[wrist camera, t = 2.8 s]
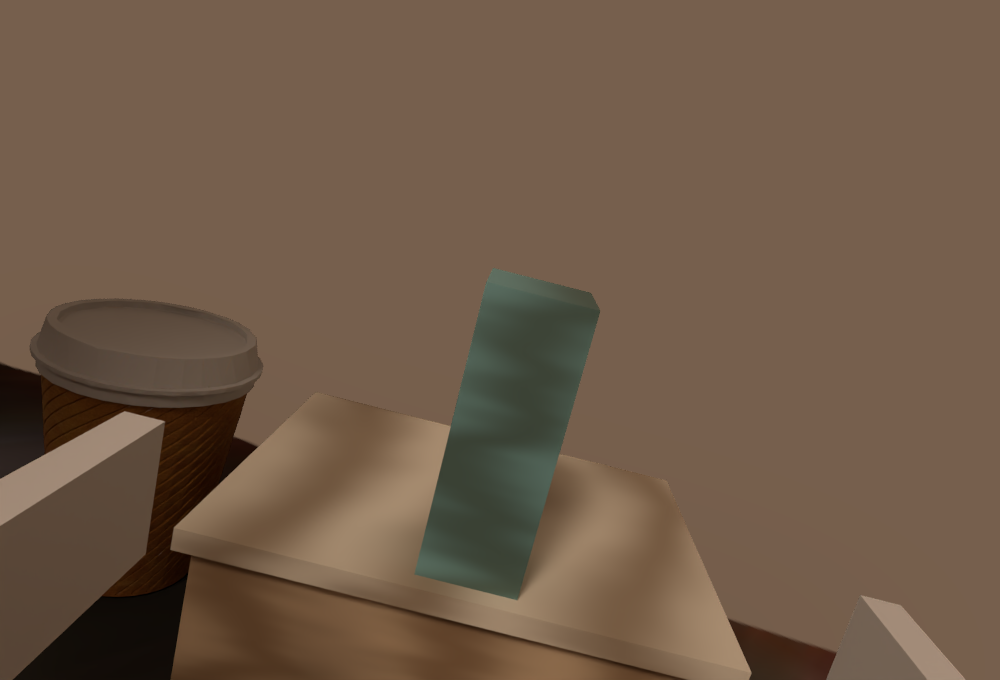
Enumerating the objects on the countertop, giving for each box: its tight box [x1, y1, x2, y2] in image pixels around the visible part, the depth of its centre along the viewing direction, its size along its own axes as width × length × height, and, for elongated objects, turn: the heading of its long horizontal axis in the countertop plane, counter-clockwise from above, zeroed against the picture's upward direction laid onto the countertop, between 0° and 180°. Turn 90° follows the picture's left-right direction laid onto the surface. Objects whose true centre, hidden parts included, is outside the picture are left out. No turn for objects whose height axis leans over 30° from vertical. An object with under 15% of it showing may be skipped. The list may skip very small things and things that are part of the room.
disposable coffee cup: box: [30, 299, 263, 597], centre depth 33 cm, size 10×10×12 cm
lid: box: [170, 268, 751, 680], centre depth 29 cm, size 19×15×11 cm
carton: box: [171, 555, 687, 680], centre depth 31 cm, size 18×14×8 cm
